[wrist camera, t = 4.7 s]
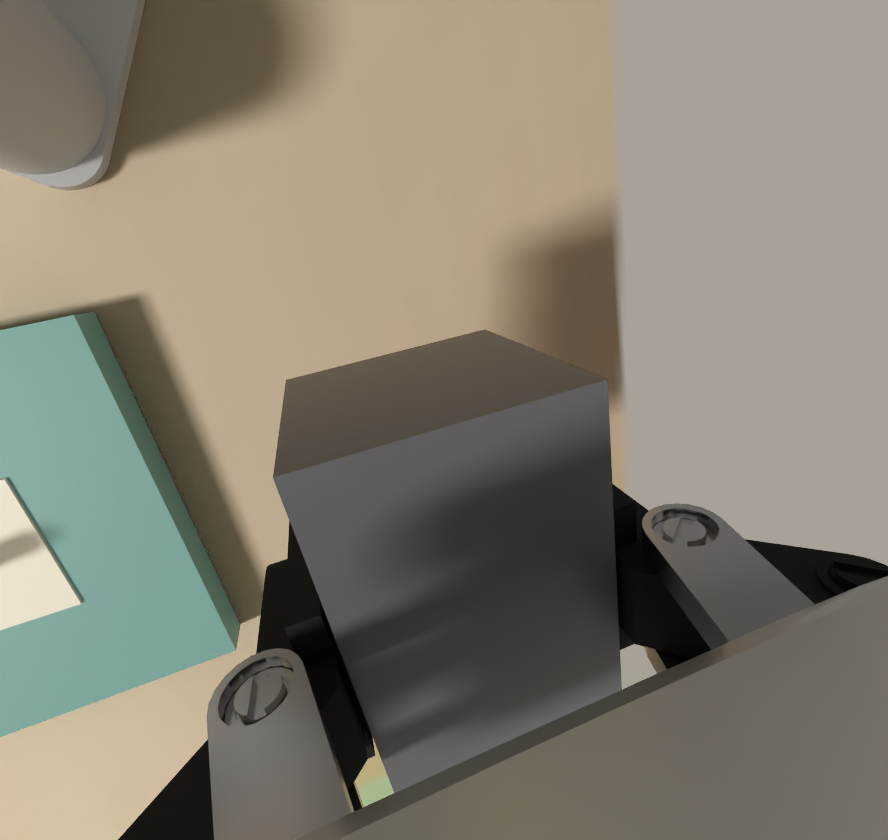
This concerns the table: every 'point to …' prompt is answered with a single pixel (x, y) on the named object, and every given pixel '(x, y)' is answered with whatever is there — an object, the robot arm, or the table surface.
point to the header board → (90, 534)
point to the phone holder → (63, 86)
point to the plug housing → (457, 540)
